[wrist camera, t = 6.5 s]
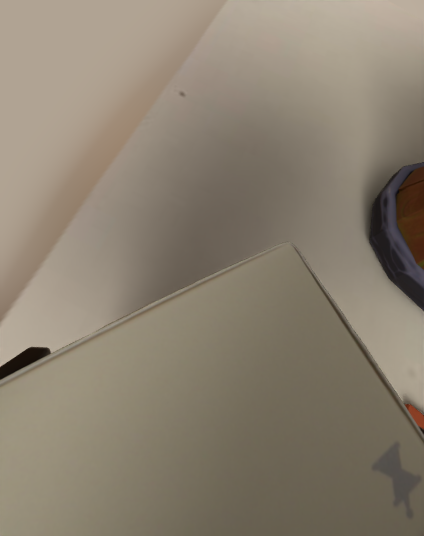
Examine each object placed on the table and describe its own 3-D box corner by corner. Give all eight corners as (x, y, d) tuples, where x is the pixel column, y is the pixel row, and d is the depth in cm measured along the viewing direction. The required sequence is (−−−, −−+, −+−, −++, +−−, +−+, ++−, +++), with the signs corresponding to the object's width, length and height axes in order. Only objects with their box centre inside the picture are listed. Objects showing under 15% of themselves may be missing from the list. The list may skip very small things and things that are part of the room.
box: (188, 338, 15) (309, 223, 5) (235, 425, 14) (498, 501, 4) (75, 400, 13) (-100, 417, 3) (122, 506, 12) (91, 1039, 2)
